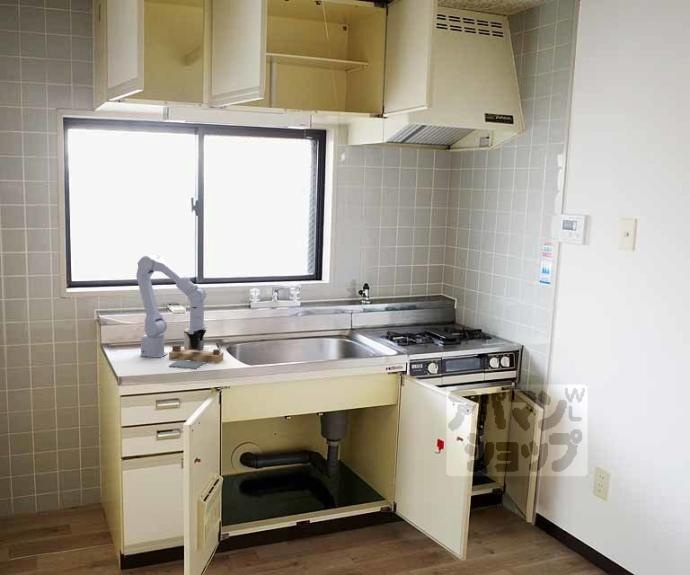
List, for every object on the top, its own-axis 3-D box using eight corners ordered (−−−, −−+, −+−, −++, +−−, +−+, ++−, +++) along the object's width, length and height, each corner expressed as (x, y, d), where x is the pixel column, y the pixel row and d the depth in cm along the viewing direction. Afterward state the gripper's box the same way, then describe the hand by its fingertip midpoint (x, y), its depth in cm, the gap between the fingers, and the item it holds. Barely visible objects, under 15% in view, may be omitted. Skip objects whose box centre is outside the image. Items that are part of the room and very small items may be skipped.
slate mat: (168, 366, 298) (168, 365, 298) (177, 361, 307) (177, 360, 307) (196, 369, 296) (196, 367, 296) (204, 363, 306) (204, 362, 306)
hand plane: (169, 359, 311) (169, 346, 310) (175, 355, 318) (175, 343, 317) (218, 363, 308) (218, 350, 307) (223, 359, 314) (223, 347, 314)
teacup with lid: (201, 351, 327) (202, 326, 325) (181, 351, 326) (182, 326, 325) (205, 346, 338) (206, 321, 337) (186, 345, 338) (186, 321, 336)
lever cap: (189, 349, 310) (189, 338, 309) (192, 347, 314) (192, 336, 314) (200, 350, 309) (200, 339, 309) (203, 348, 314) (203, 337, 313)
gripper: (200, 320, 302) (199, 351, 304) (211, 314, 316) (210, 344, 318) (183, 318, 303) (183, 350, 305) (196, 313, 317) (195, 343, 319)
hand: (196, 347), depth 312 cm, fingers closed on lever cap, 4 cm apart
